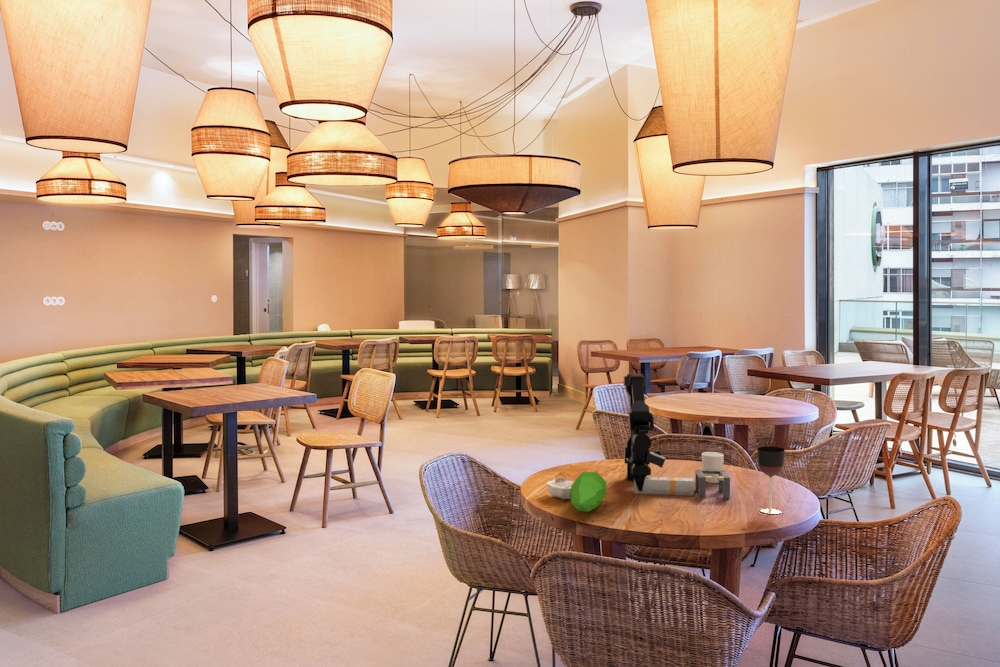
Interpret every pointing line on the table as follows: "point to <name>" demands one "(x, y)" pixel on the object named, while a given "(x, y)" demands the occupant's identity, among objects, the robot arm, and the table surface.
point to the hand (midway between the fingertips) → (639, 489)
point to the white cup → (712, 464)
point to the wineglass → (770, 468)
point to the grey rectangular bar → (666, 486)
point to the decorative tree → (588, 491)
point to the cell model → (560, 488)
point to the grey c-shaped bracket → (701, 479)
